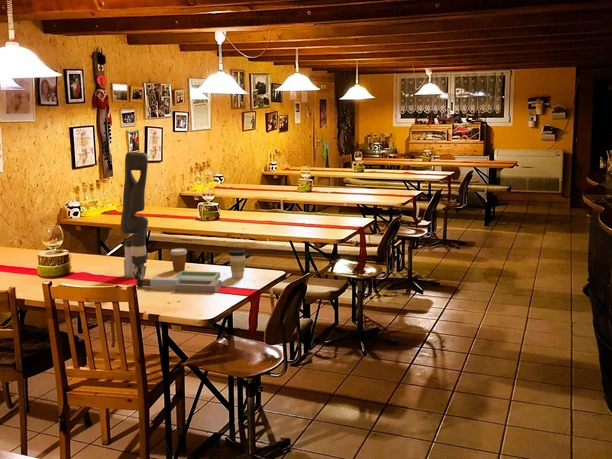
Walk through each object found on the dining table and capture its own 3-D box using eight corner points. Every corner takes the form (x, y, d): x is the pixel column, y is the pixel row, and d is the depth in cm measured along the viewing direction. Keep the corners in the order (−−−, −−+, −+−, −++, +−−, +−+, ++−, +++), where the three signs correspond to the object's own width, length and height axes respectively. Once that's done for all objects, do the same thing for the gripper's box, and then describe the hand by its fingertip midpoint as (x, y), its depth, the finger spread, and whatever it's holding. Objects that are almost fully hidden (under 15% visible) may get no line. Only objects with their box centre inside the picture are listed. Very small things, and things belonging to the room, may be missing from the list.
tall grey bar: (135, 288, 325) (135, 279, 324) (139, 285, 330) (138, 276, 329) (176, 289, 323) (176, 280, 322) (179, 287, 328) (179, 277, 327)
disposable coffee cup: (185, 272, 358) (185, 251, 355) (169, 272, 358) (168, 251, 356) (189, 268, 367) (188, 248, 365) (172, 268, 367) (172, 248, 365)
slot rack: (175, 291, 319) (174, 284, 318) (182, 285, 331) (182, 278, 330) (215, 292, 317) (215, 286, 316) (221, 286, 328) (221, 280, 328)
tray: (172, 282, 335) (172, 278, 335) (181, 275, 351) (181, 270, 351) (212, 284, 333) (212, 279, 333) (220, 276, 349) (220, 272, 348)
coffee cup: (232, 280, 341) (232, 253, 338) (226, 276, 350) (225, 249, 347) (249, 278, 346) (249, 251, 343) (242, 274, 354) (242, 248, 351)
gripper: (136, 251, 331) (138, 282, 334) (126, 256, 318) (128, 289, 321) (150, 251, 330) (151, 283, 333) (141, 257, 317) (142, 290, 320)
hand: (140, 286), depth 327 cm, fingers closed
